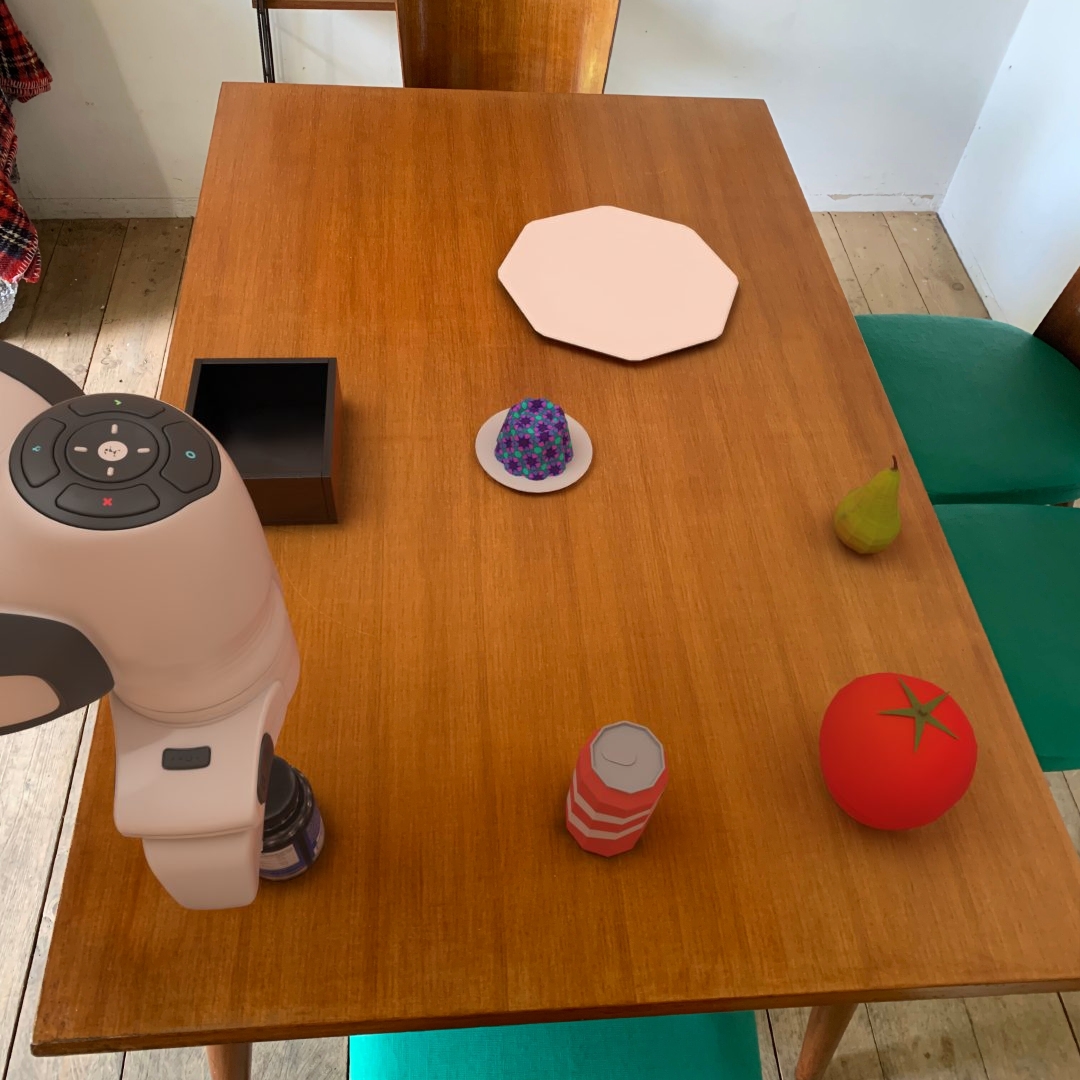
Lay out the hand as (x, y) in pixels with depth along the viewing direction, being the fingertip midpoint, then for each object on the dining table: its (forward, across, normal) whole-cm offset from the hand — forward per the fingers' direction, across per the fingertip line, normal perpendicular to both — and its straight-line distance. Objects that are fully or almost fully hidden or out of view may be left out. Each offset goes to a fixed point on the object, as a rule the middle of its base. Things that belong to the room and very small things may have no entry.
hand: (256, 766), depth 58 cm
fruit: (+15, -26, +53) cm, 61 cm away
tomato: (+14, -2, +46) cm, 48 cm away
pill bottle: (+14, 0, 0) cm, 14 cm away
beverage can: (+14, 0, +24) cm, 28 cm away
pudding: (+14, -39, +22) cm, 47 cm away
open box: (+14, -38, -5) cm, 40 cm away
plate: (+15, -66, +34) cm, 75 cm away
